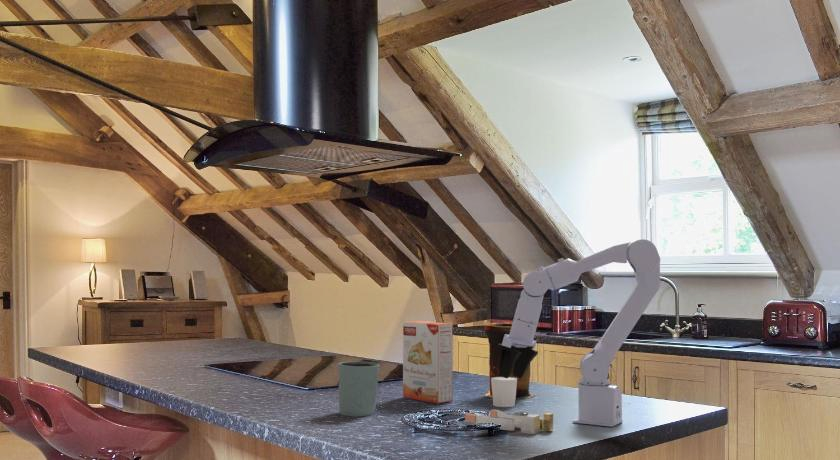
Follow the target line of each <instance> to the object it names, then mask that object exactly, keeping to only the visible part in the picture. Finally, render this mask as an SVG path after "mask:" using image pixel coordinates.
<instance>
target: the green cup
mask: <svg viewBox="0 0 840 460" xmlns="http://www.w3.org/2000/svg"><path fill="white" fill-rule="evenodd" d="M337 367H338V368H337V369H338V371H337V372H338V396H339V401H338V403H339V406H338V407H339V414H340V415H341V416H345V417H346V416H347V417H367V416H368V417H369V416H373V415H375V413H376V404H377V396H378V384H379V383H378V382H379V375H380V373H379V372H380V363H377V362H372V361H342V362H339V363H338V364H337Z"/></svg>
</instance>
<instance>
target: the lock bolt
mask: <svg viewBox="0 0 840 460" xmlns="http://www.w3.org/2000/svg"><path fill="white" fill-rule="evenodd" d="M541 431H543V432H552V431H554V413H553V412H545V413H543V418H541V417H540V432H541Z"/></svg>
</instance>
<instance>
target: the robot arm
mask: <svg viewBox="0 0 840 460" xmlns="http://www.w3.org/2000/svg"><path fill="white" fill-rule="evenodd" d="M612 263H618V264H629V265H630V267H631V268H632V270H633V273H634V276H635V282H636V285H635V287H634V288H633V290H632V291H631V293H630V295H628V298H627V299H626V300H625V302H624V303H623V305H622V307H620V309H619V311H618V313H617V314H616V316H615V317H614V319H613V320H612V321H611V323H610V325H609V326H608V327H607V329H606V330H605V332H604V334H603V335H602V336H601V338H600V339H599V341H597V343H596V345H595V346H594V347H593V348H592V350H590V352H588V353H585V355H583V357H582V358H581V360H580V364H579V368H580V375H581V376H582V377H581V379H579V380H578V381H577V382H578V391H577V392H578V417H577V418H575V419H573V420H572V423H573V424H574V423H575V424H582V425H583V424H585V425H590V426H591V425H593V426H601V427H611V428H612V427H615V426H617V425H618V424H620V423H623V422H624V421H623V416H622V415H623V412H622V411H623V407H622V403H623V397H622V395H623V394H622V389H621V387H620V386H619V385H613V384H611V381H610V379H608V377H609V373H610V367H611V364H612V363H613V362H614V360H615V357H616V355H617V353H618V351H619V350H620V348H621V347H622V345H623V344H624V342H625V341H626V340H627V338H628V336H629V335H630V334H631V332H632V331H633V329H634V327H635V325H636V324H637V323H638V321H639V319H640V318H641V316H642V315H643V314H644V312H645V310H646V309H647V308H648V307H649V305H650V303H652V302H651V301H653V299H654V297H655V296H656V294H657V293H658V291H659V290H660V288H661V257H660V254H659V251H658V249H657V247H656V245H655V243H653V242H652V241H650V240H648V239H645V238H644V239H643V238H642V239H637V240H635V241H632V242H631V241H630V242H626V243H621V244H617V245H613V246H610V247H608V248H605V249H603V250H600V251H598V252H595V253H594V254H591V255H588V256H586V257H584V258H581V259H579V260H573V259H571V258H565V259H564V258H563V257H561V258H558V259H557V262H555V263H552V264H550V265H547V266H543V265H542V266H539V268H538V269H539V271H538V270H533V271H531V272H529V273H528V274H526V275H525V276H524V278H523V281H522V287H523V289H522V291H521V292H520V298H519V299H518V302H517V305H516V309H515V312H514V316H513V320H512V322H511V323H512V327H511V330H510V334H509V335H507V334H505V335H504V338H503V342H502V344H498V346H497V348H498V352H499V360H500V364H499V376H501V377H504V378H508V377H509V376H510V373H511V371H512V368H513V366H514V369H513V376H516V377H519V378H522V376H523V375H524V373H525V371H526V369H527V367H528V365H529V364H530V365H531V363H532V361H533V360H534V359H535V357H537V356H538V354H539V351H537V350H535V349H536V345H537V341H536V340H534V339H535V334H536V331H537V326H538V323H539V319H540V317H541V312H542V310H543V299H544V296H545V293H546V292H547V291H548V290H551V291H555V290H558V289H560V288H563V287H565V286H568V285H571V284H574V283H576V282H578V281H579V279H580V276H581V274H583V273H586V272H589V271H592V270H594V269H597V268H602V267H603V266H606V265H608V264H612ZM520 344H521V345H520Z"/></svg>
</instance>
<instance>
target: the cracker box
mask: <svg viewBox="0 0 840 460" xmlns="http://www.w3.org/2000/svg"><path fill="white" fill-rule="evenodd" d="M402 324H403V326H402V328H403V329H402V334H403V335H402V336H403V337H402V338H403V339H402V341H403V343H402V344H403V345H402V347H403V348H402V397H403V398H406V399H410V400H411V399H412V400H417V401H423V402H428V403H432V404H439V405H440V404H445V403H449V402H450V403H451V402H453V385H454V383H453V380H454V379H453V373H454V372H453V370H454V369H453V367H454V365H453V363H454V362H453V357H454V356H453V355H454V354H453V353H454V352H453V351H454V350H453V349H454V347H453V346H454V345H453V341H454V340H453V339H454V338H453V336H454V332H453V329H454V325H453V323H447V322H438V321H437V322H436V321H426V320H407V321H406V320H405V321H403V322H402Z"/></svg>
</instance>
